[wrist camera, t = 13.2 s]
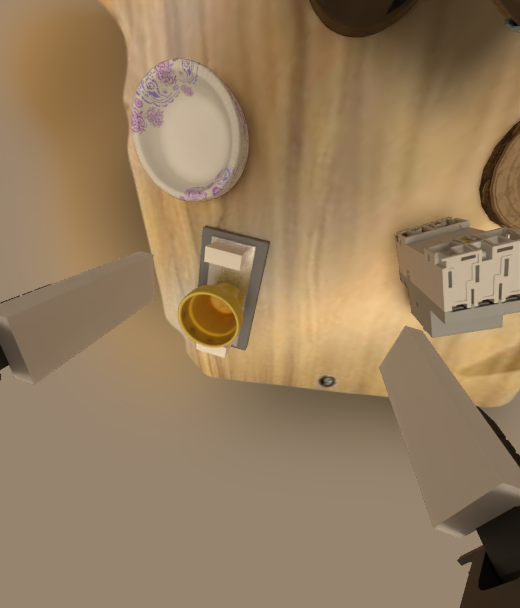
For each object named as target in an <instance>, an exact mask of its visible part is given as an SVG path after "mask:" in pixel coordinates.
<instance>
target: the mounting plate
mask: <svg viewBox="0 0 520 608" xmlns="http://www.w3.org/2000/svg"><path fill="white" fill-rule="evenodd" d="M212 236H217V237H221V238H225V239H229V240H233V241H236V242H240V243H244V244H248V245H252V246H256V251H255V256H254V261H253V266H252V272H251V277H250V282H249V287H248V292H247V297H246V303H245V308H244V313H243V323H242V326H241V329H240V333H239V339H238V344H237V346H234V345H231V347H234V348H238V349H241V350H246V348H247V344H248V340H249V335H250V331H251V326H252V321H253V317H254V312H255V308H256V303H257V299H258V294H259V290H260V285H261V281H262V276H263V272H264V267H265V262H266V258H267V253H268V249H269V244H270V242H268V241H264V240H260V239H256V238H252V237H248V236H244V235H240V234H236V233H232V232H228V231H224V230H220V229H216V228H212V227H208V226H205V227H203V235H202V248H201V260H200V273H199V285H198V287H200V286H204V285H207V281H208V271H209V263H208V262H204V257H205V246H207V245H209V244H211V241H212Z"/></svg>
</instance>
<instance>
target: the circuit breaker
mask: <svg viewBox="0 0 520 608" xmlns="http://www.w3.org/2000/svg"><path fill="white" fill-rule="evenodd" d="M434 224H437V225H434ZM469 226H470V221H469V220H464V219H459V218H455V219H452V217H449V218H445V219H442V220H438V221H435V222H431V223H428V224H424V225H421V226H417V227H414V228H410V229H407V230H403V231H400V232H396V233H395V236H397V235H398V241H396V248H397V256H398V264H399V272H400V280H401V281H402V282H403V283H404V284H406V286H407V287H408V288H409V297H410V305H411V313H412V314H413V315H414V316H415V318H416V319H417V320H418V321H419V322H420V324H421V325H422V326H423V329H424V330H425V331H427V332H428V333H429V335H430V336H431V337H432V338H435V337H442V336H448V335H455V334H461V333H468V332H474V331H481V330H487V329H494V328H501V327H502V323H503V315H505V314H511V313H517V312H520V230H518V229H512V228H507V227H502V228H498V229H494V230H491V231H483V230H478V229H474V228H470V227H469ZM413 230H415V231H413ZM404 233H406V236H407V237H406V236H402V234H404ZM508 234H510V239H508Z"/></svg>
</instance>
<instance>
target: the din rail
mask: <svg viewBox="0 0 520 608" xmlns="http://www.w3.org/2000/svg"><path fill="white" fill-rule="evenodd" d="M217 240H218V241H221V242H225V243H229V244H233V245H237V246H241V247H245V248H249V255H248V260H247V263H246V264H245V265H244V266H243V267H242V268H241V270H240V271H238V270H234V269H231V268H227V267H223V266H219V265H216V264H212V263H209V271H208V281H207V285H214V284H217V283H220V282H228V283H231V284H233V285H235V286H236V287H237V288H238V289H239V290H240V291H241V293H242V297H243V303H242V310H243V313H244V308H245V303H246V297H247V292H248V287H249V282H250V277H251V272H252V266H253V261H254V256H255V251H256V246H252V245H248V244H244V243H240V242H236V241H233V240H229V239H225V238H221V237H217V236H212V241H211V243H213V242H215V241H217ZM239 333H240V331H239ZM239 333H238V335H237V337H236V338H235V339H234V341H233V343H232V345H234V346H237V344H238V339H239Z"/></svg>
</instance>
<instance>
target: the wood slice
mask: <svg viewBox="0 0 520 608" xmlns="http://www.w3.org/2000/svg"><path fill="white" fill-rule="evenodd" d="M479 191H480V198H481V205H482V208H483V209H484V211H485V213H486V214H487V216H488V217H489V219H490V220H491V221H493V222H494V223H496V224H498V225H499V226H501V227H507V228H512V229H518V230H520V121H519V122H518V123H516V124H515V125H514V126H513V127H512V128H511V129H510V131H509V132H508V133H507V134H506V135H505V136H504V138H503V139H502V140H501V141H500V142H499V143H498V144H497V146H496V147H495V148H494V150H493V152H492V154H491V156H490V158H489V160H488V162H487V164H486V165H485V167H484V170H483V174H482V179H481V183H480V188H479Z"/></svg>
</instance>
